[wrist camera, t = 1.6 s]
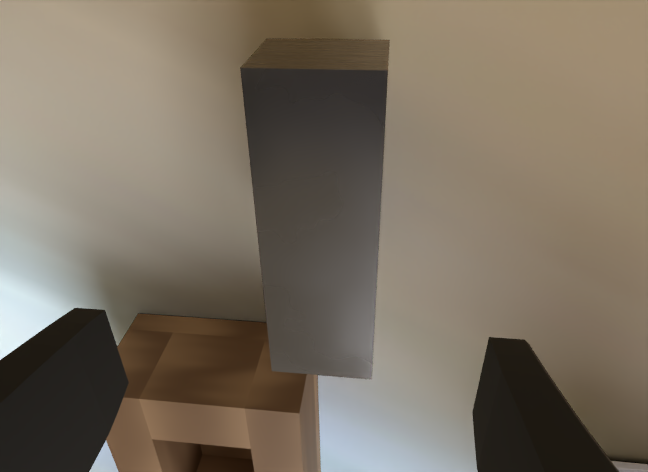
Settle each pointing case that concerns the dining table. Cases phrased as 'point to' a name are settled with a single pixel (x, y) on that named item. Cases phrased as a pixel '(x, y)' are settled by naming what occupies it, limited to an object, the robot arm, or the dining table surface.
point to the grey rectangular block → (318, 197)
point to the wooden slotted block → (211, 401)
